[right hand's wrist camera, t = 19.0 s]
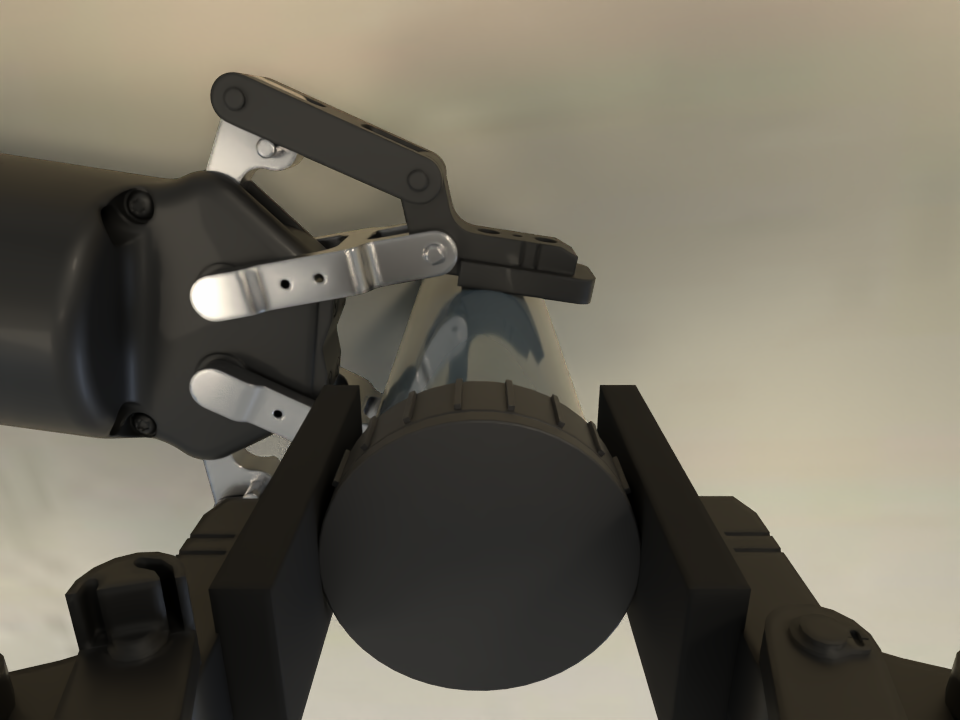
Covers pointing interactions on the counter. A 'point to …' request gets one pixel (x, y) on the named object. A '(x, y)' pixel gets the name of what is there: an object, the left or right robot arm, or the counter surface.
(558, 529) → the lid
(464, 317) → the jar
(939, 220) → the counter surface
